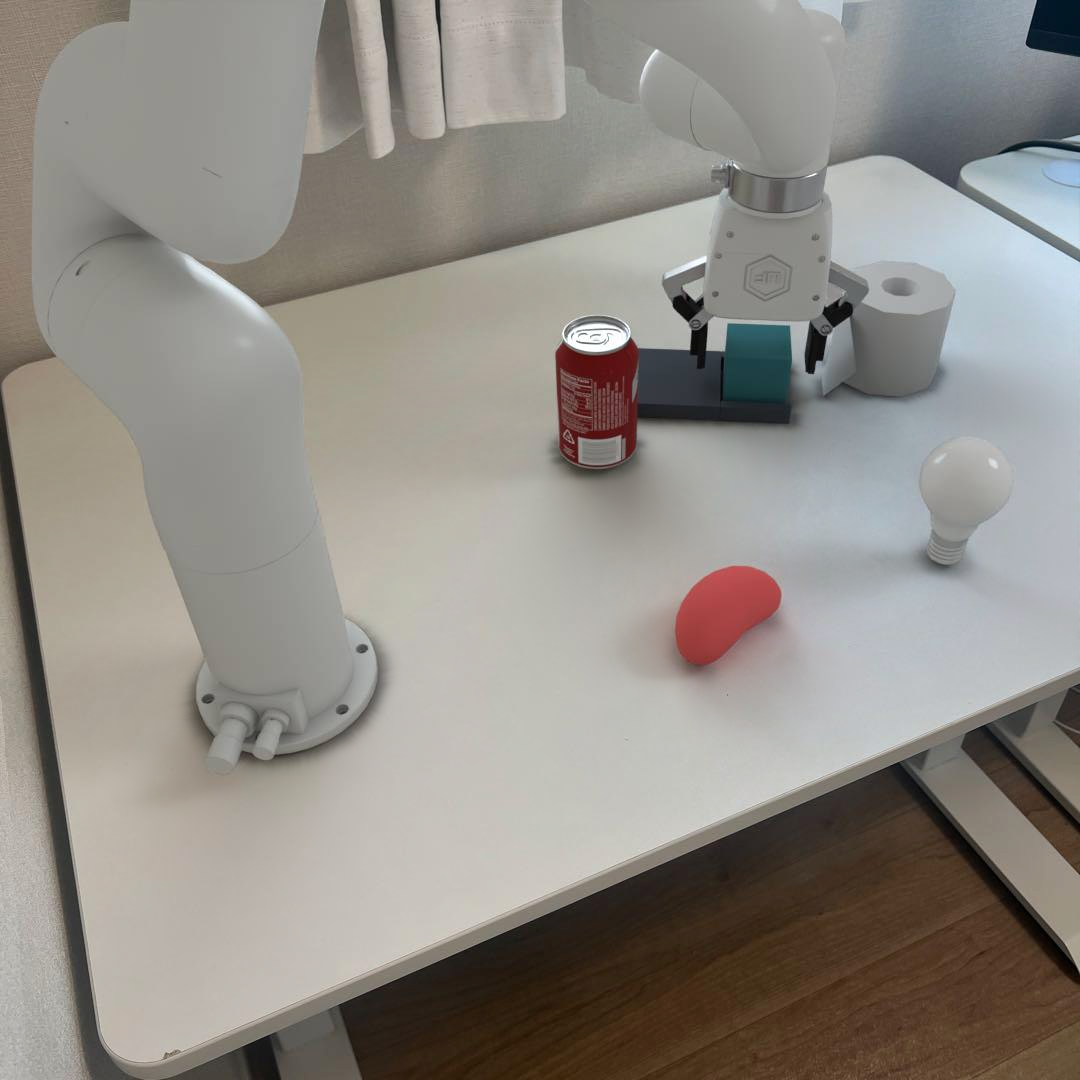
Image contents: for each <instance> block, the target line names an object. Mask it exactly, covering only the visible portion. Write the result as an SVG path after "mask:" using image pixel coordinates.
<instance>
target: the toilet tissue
mask: <svg viewBox="0 0 1080 1080" xmlns="http://www.w3.org/2000/svg"><path fill="white" fill-rule="evenodd" d="M852 272H853V273H854V274H856V275H858V276H860V277H862V278H864V279H865V280H867V282H868V287H869V292H868V294H867V295H866V296H865V298H864V299H863V300H862V301H861V303H860V304H859V305H858V306H857V307H856V308H855V309H854V310H853V314H852V315H851V316H850V317H849V318H847V319H846V320H844V321H843V322H842V323H840V324H839V325H837V326H836V327H834V328H833V331H832V335H831V338H830V339H831V340H830V344H829V348H828V352H827V356H826V360H825V364H824V369H823V372H822V376H821V385H822V387H821V388H822V396H826V395H827V394H829V392H831V391H832V390H834V389H835V388H836V387H838V386H840V384H842V383H844V384H846V385H847V386H850V387H852V388H854V389H856V390H858V391H859V392H862V393H864V394H866V395H871V396H872V395H873V396H883V397H884V396H886V397H896V398H902V397H906V396H909V395H913V394H915V393H918V392H921V391H924V390H927V389H928V388H929V386H930V384H931V382H932V380H933V379H934V377H935V375H936V373H937V370H938V366H939V361H940V358H941V353H942V350H943V345H944V341H945V338H946V334H947V329H948V326H949V321H950V317H951V313H952V310H953V305H954V302H955V301H954V300H955V297H956V293H957V289H956V288H955V287H954V285H953V284H952V283H951V282H950V281H949V279H948V277H946V275H945V274H944V273H942V272H940V271H937V270H935V269H932V268H930V267H927V266H925V265H922V264H919V263H917V262H909V261H908V262H907V261H892V260H880V261H875V262H872V263H870V264H866V265H863V266H859V267H855V268H854V270H853V271H852ZM842 290H843V289H842ZM845 292H846V291H845V290H843V291H842V295H841V297H842V296H843V295H844V293H845Z"/></svg>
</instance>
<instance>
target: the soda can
mask: <svg viewBox="0 0 1080 1080" xmlns="http://www.w3.org/2000/svg"><path fill="white" fill-rule="evenodd" d="M561 335H562V339H560V341H559V342H558V344H557V345H556V348H555V351H554V352H555V353H554V356H555V357H554V358H555V360H554V361H555V384H556V385H555V386H556V414H557V438H558V439H557V441H558V451H559V453H560V454H561V456H562V457H563V458H564V459H565V460H566V461H567V462H569V463H571V464H572V465H574V466H577V467H578V468H583V469H588V470H605V469H606V470H608V469H611V468H614V467H618V466H620V465H622V464H624V463H626V462H628V460H630V458H632V457H633V455H634V454H635V452H636V449H637V443H638V442H637V440H638V439H637V436H638V417H637V400H638V359H639V351H638V348H639V347H638V345H637V343H636V342H635V340H634V339H633V338H632V330H631V327H630V326H629V325H628V324H627V323H626V322H625V321H623V320H622V319H620V318H618V317H615V316H611V315H606V314H589V315H585V316H580V317H577V318H576V319H573V320H571V321H570V322H568V323H567V324H566V325H565V327H564V328H563V329H562V333H561Z"/></svg>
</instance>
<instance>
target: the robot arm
mask: <svg viewBox="0 0 1080 1080" xmlns="http://www.w3.org/2000/svg"><path fill="white" fill-rule="evenodd" d="M583 2H584V3H586V5H588V6H589V7H590V8H591V9H592V10H594V11H595V12H597V13H598V14H599V15H601V16H602V17H603V18H605V19H606V20H607V21H609V22H610V24H613V25H614V26H616V27H618V28H619V29H620V30H621V31H623V32H624V33H626V34H628V35H629V36H631V37H633V38H634V39H636V40H638V41H640V42H642V43H644V44H645V45H647V46H649V47H651V48H653V49H655V50H654V51H653V52H652V54H651V55H650V56H649V57H648V59H647V61H646V63H645V65H644V67H643V70H642V72H641V75H640V79H639V85H638V92H639V93H638V95H639V102H640V105H641V109H642V111H643V114H644V115H645V117H646V118H647V120H648V121H649V122H650V123H651V125H653V127H655V128H657V129H658V130H659V131H660V132H662V133H663V134H665V135H667V136H670V137H671V138H674V139H676V140H678V141H681V142H683V143H687V144H690V145H692V146H694V147H697V148H699V149H702V150H704V151H708V152H713V153H715V154H717V155H718V154H719V155H720V156H723V157H725V158H728V159H726V162H725V163H723V162H722V163H721V164H712V165H711V173H710V183H719V184H720V185H724V188H722V190H721V191H720V193H719V196H718V199H717V202H716V205H715V209H714V212H713V217H712V223H711V227H710V231H709V237H708V243H707V249H706V255H703V256H701V257H698V258H696V259H694V260H691V261H689V262H687V263H684V264H682V265H678V266H677V267H674V268H672V269H670V270H668V271H665V272H664V273H663V274H662V280H661V286H662V288H663V290H664V291H665V293H666V296H667V297H668V299H669V300H670V302H671V304H672V308H673V309H674V311H675V312H676V313H678V314H679V315H680V316H681V317H682V318H683V319H684V320H685V322H687V323H688V327H689V329H690V345H689V350H690V355H697V369H702V368H705V359H706V351H707V347H708V334H709V331H708V330H709V321H711V320H712V319H713V318H714V317H715V318H719V319H728V320H746V321H772V322H809V323H808V328H807V330H808V331H807V336H806V342H805V349H804V368H805V369H804V370H805V373H807V375H815V371H816V366H817V362H823V361H824V358H825V353H826V347H827V342H828V341H827V340H828V336H830V335H831V334H833V331H834V327H836V326H837V325H839V324H840V323H842V322H843V321H844V320H846V319H847V318H849V317H850V316H851V315H852V314H853V310H854V309H855V308H856V307H857V306H858V305H859V304H860V303H861V301H862V300H863V299H864V298H865V296H866V295H867V294H868V292H869V287H868V282H867V280H865V279H864V278H862V277H860V276H858V275H856V274H854V273H853V271H851V270H849V269H847V268H846V267H843V266H841V265H840V264H837V263H836V262H834V261H833V260H831V258H832V246H833V206H832V204H833V203H832V201H831V198H830V196H829V194H828V193H827V192H826V191H825V184H826V177H827V170H828V166H829V165H828V164H829V158H830V151H831V144H832V139H833V133H834V132H833V131H834V126H835V123H836V118H837V110H838V99H839V90H840V86H841V85H840V84H841V78H842V71H843V67H844V66H843V65H844V58H845V52H846V33H845V29H844V27H843V25H842V24H841V22H840V21H839V20H838V19H837V18H836V17H834V16H833V15H831V14H828V13H826V12H824V11H820V10H816V9H811V8H804V7H803V6H802V4H801V3H800V2H799V0H583ZM325 4H326V0H130V3H129V13H128V14H129V16H128V21H123V20H122V21H111V22H106V23H102V24H99V25H96V26H93V27H91V28H89V29H87V30H85V31H83V32H81V33H80V34H79V35H77V36H76V37H74V38H72V40H71V41H69V42H68V43H67V45H65V46H64V47H63V48H62V49H61V51H60V52H59V53H58V55H57V56H56V57H55V58H54V61H53V62H52V64H51V65H50V67H49V69H48V72H47V73H46V76H45V78H44V80H43V83H42V87H41V90H40V91H39V95H38V99H37V105H36V110H35V117H34V118H35V119H34V129H33V131H34V132H33V151H32V152H33V153H32V156H33V157H32V201H31V203H32V204H31V206H32V207H31V209H32V210H31V213H32V214H31V289H32V290H31V291H32V300H33V308H34V313H35V318H36V322H37V325H38V328H39V331H40V332H41V334H42V336H43V339H44V340H45V342H46V344H47V346H48V347H49V348H50V350H51V351H52V353H53V354H54V355H55V357H56V358H57V359H58V360H59V361H60V362H61V363H62V364H63V365H64V366H65V367H66V369H67V370H69V372H71V374H73V375H74V376H75V377H76V378H77V379H78V380H79V381H80V382H81V383H82V384H83V385H84V386H85V387H86V388H88V389H89V390H90V391H91V393H92V394H93V395H94V396H95V397H96V399H97V400H99V402H100V403H102V405H104V406H105V407H106V408H107V409H108V410H109V411H110V412H111V413H112V414H113V415H114V416H115V418H117V420H118V421H119V422H120V423H121V425H122V426H123V428H124V429H125V430H126V431H127V433H128V434H129V436H130V438H131V440H132V441H133V443H134V446H135V447H136V450H137V453H138V455H139V458H140V461H141V468H142V475H143V487H144V494H145V499H146V502H147V506H148V510H149V513H150V516H151V519H152V522H153V525H154V528H155V530H156V532H157V536H158V538H159V540H160V541H159V542H160V543H161V546H162V549H163V550H164V552H165V554H166V557H167V560H168V562H169V565H170V568H171V570H172V573H173V576H174V579H175V582H176V585H177V587H178V589H179V592H180V595H181V598H182V600H183V604H184V605H185V608H186V611H187V614H188V616H189V619H190V622H191V625H192V627H193V630H194V632H195V635H196V638H197V640H198V643H199V646H200V648H201V651H202V653H203V657H204V659H205V660H204V661H203V663H202V666H201V668H200V671H199V672H198V675H197V679H196V680H197V681H196V685H195V701H196V705H197V708H198V711H199V713H200V716H201V718H202V720H203V722H204V725H205V726H206V727H207V729H208V730H209V731H210V733H211V734H212V735H213V736H214V738H213V740H212V743H211V745H210V747H209V749H208V751H207V754H206V757H205V759H204V762H203V764H204V766H205V768H206V769H208V770H209V772H211V773H214V774H216V775H221V776H226V775H231V774H232V773H234V771H235V768H236V766H237V763H238V761H239V758H240V755H241V753H242V752H246V753H249V754H253V756H254V757H255V758H257V759H259V760H261V761H271V760H272V759H273V758H274V756H275V755H285V754H292V753H296V752H297V753H298V752H301V751H305V750H308V749H311V748H313V747H316V746H318V745H320V744H321V745H322V744H324V743H326V742H328V741H330V740H331V739H333V738H334V737H336V736H337V735H339V734H340V733H342V732H344V731H345V730H346V729H348V728H349V726H351V725H352V724H353V723H355V721H357V719H359V717H360V716H361V714H362V713H363V712H364V711H365V710H366V709H367V707H368V705H369V704H370V701H371V700H372V698H373V696H374V693H375V690H376V687H377V683H378V675H379V674H378V673H379V667H378V661H377V655H376V652H375V650H374V649H375V648H374V646H373V643H372V641H371V640H370V639H369V637H368V636H367V634H366V632H364V631H363V630H362V629H361V628H360V627H359V626H358V625H357V624H356V623H354V622H352V621H351V620H349V619H348V618H346V617H345V616H344V612H343V607H342V602H341V599H340V594H339V591H338V586H337V581H336V578H335V573H334V569H333V564H332V561H331V560H332V559H331V557H330V556H331V555H330V552H329V548H328V543H327V539H326V535H325V530H324V525H323V522H322V517H321V514H320V509H319V504H318V501H317V498H316V493H315V490H314V485H313V480H312V476H311V472H310V467H309V462H308V456H307V451H306V442H305V434H304V433H305V431H304V382H303V374H302V370H301V365H300V362H299V358H298V356H297V354H296V350H295V349H294V346H293V345H292V343H291V341H290V340H289V337H288V336H287V335H286V333H285V331H283V329H282V327H281V326H280V325H279V324H278V323H277V321H276V320H275V319H274V318H273V317H272V316H271V315H270V314H269V313H268V312H267V311H266V310H265V309H264V308H263V307H262V306H261V305H260V304H259V303H257V302H256V300H254V299H253V298H251V297H250V296H249V295H248V294H246V293H245V292H243V291H242V290H241V289H239V287H236V286H235V285H233V284H232V283H230V282H229V281H228V280H227V279H225V278H224V277H222V276H221V275H219V274H218V273H216V272H215V271H214V270H212V269H210V268H209V267H207V266H205V265H203V264H202V263H201V262H199V261H198V260H200V261H203V262H210V263H214V264H220V265H238V264H241V263H242V264H243V263H246V262H249V261H253V260H255V259H258V258H260V257H262V256H263V255H265V254H267V252H269V251H270V250H271V249H272V248H273V247H274V246H275V245H276V244H277V243H278V241H280V239H281V238H282V237H283V235H284V234H285V232H286V230H287V228H288V226H289V223H290V222H291V219H292V216H293V213H294V209H295V205H296V201H297V196H298V192H299V188H300V187H299V186H300V182H301V174H302V167H303V160H304V150H305V141H306V135H307V128H308V120H309V112H310V104H311V95H312V87H313V81H314V73H315V71H314V70H315V66H316V65H315V63H316V57H317V49H318V41H319V35H320V30H321V25H322V19H323V14H324V10H325ZM702 278H703V289H702V290H703V293H702V294H701V295H699V296H698V297H697V298H696V299H694V298H692V297H691V295H690V294H689V293H687V292H686V290H684V287H683V286H685V285H688V284H689V283H692V282H695V281H698V280H700V279H702ZM829 284H831V285H834V286H836V287H837V288H839V289H841V290H845V291H846V292H845V293H844V295H843V294H842V295H843V296H842V295H841V296H840V297H839V298H837V299H836V300H835V301H833V302H832V303H830V304H829V305H827V304H826V300H827V293H828V287H829Z"/></svg>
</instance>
